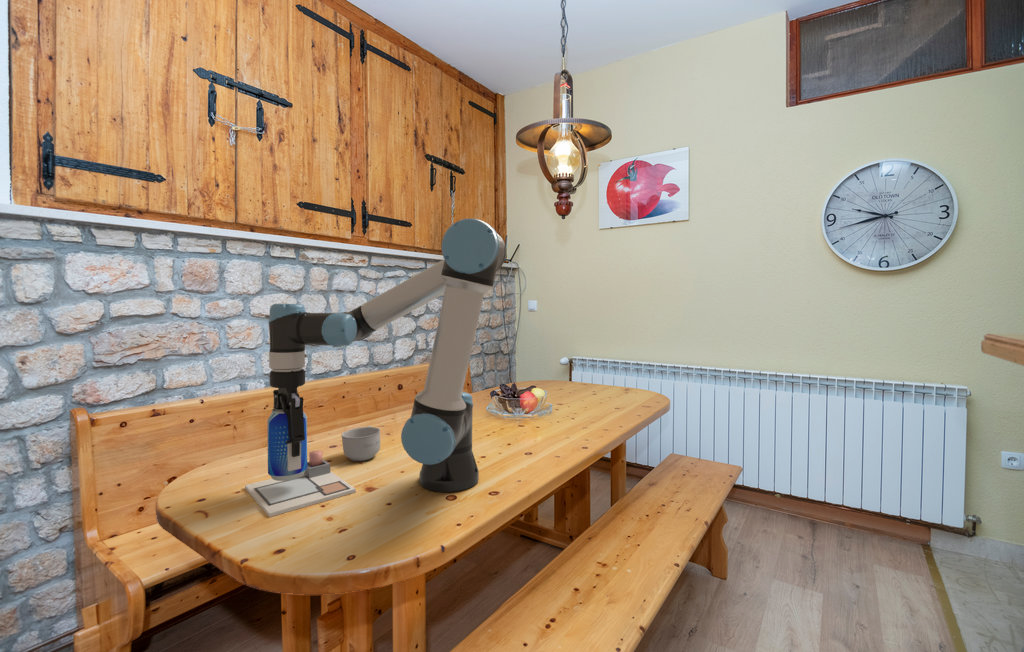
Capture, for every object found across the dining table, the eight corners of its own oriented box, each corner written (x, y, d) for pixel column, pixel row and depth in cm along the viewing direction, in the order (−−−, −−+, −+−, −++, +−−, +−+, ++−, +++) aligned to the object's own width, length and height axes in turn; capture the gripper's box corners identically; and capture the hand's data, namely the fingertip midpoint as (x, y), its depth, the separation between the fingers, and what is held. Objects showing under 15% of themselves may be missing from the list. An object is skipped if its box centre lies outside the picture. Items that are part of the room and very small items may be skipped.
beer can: (267, 484, 102) (267, 414, 101) (268, 471, 109) (267, 406, 109) (308, 478, 106) (308, 411, 105) (306, 466, 113) (305, 403, 113)
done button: (324, 463, 119) (324, 452, 118) (311, 466, 116) (311, 455, 116) (319, 460, 121) (319, 449, 121) (307, 463, 119) (307, 452, 119)
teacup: (368, 465, 127) (368, 437, 126) (333, 462, 129) (333, 434, 128) (391, 450, 140) (391, 424, 140) (359, 447, 142) (359, 422, 142)
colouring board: (355, 492, 109) (355, 479, 109) (269, 517, 96) (269, 502, 96) (323, 469, 123) (323, 457, 123) (244, 488, 110) (244, 475, 110)
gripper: (320, 373, 101) (320, 472, 103) (290, 363, 116) (290, 450, 118) (284, 376, 96) (285, 481, 97) (257, 365, 111) (258, 456, 112)
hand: (288, 464), depth 107 cm, fingers closed on beer can, 8 cm apart
